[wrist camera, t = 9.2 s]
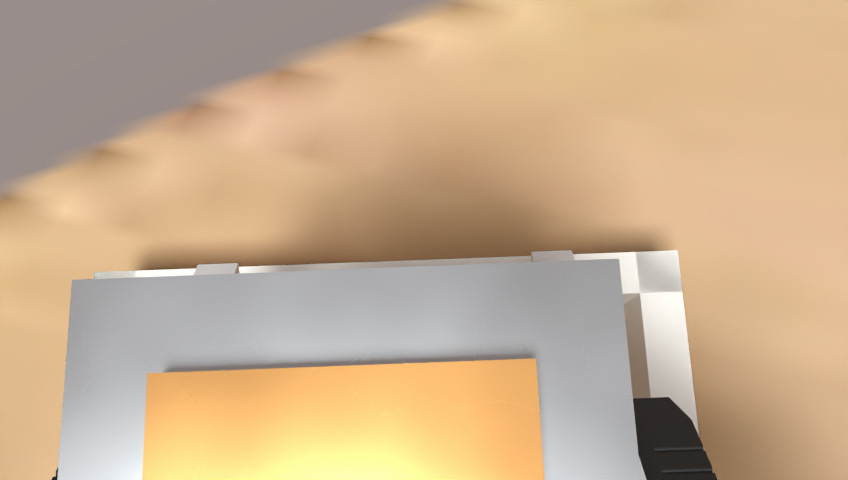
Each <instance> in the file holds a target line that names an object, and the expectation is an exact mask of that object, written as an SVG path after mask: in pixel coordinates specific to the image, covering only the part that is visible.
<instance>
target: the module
mask: <svg viewBox="0 0 848 480" xmlns="http://www.w3.org/2000/svg"><path fill="white" fill-rule="evenodd" d="M57 480H641V475H640V465H639V455H638V445H637V434H636V424H635V414H634V404H633V394H632V384H631V374H630V364H629V354H628V344H627V333H626V323H625V313H624V303H623V293H622V283H621V273H620V263H619V259H596V260H570V261H545V262H519V263H493V264H468V265H442V266H416V267H391V268H365V269H340V270H314V271H288V272H263V273H237V274H211V275H186V276H160V277H135V278H109V279H83V280H72V288H71V302H70V315H69V329H68V342H67V356H66V369H65V383H64V396H63V410H62V424H61V437H60V451H59V464H58V478H57Z"/></svg>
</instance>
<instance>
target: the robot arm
mask: <svg viewBox="0 0 848 480" xmlns="http://www.w3.org/2000/svg"><path fill="white" fill-rule="evenodd" d="M570 260H575V259H574V256H573V253H572V250H561V251H535V252H531V262H545V261H570ZM237 273H240V272H239V266H238V263H226V264H201V265H197V268H196V270H195V272H194V275H211V274H237ZM633 404H634V414H635V424H636V434H637V445H638V455H639V465H640V475H641V480H717V478H716V475H715V473H713V472H712V466H711V464H710V461H709V459H708V457H707V454H706V452H705V451H703V445H702V443H701V440H700V438H699V436H698V433H697V431H696V428H695V426H694V424H693V421H692V419H691V418H690V417H689V416H688V415H687V414H686V413H685V412H684V411H683V410H682V409H680V408H679V407H678V406H677V405H676V404H675V403H674V402H673V401H672V400H671V399H670V398H669V397H658V398H633ZM57 478H58V468H57V470H56V477H53V478H52V480H57Z"/></svg>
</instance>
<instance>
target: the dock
mask: <svg viewBox="0 0 848 480" xmlns="http://www.w3.org/2000/svg"><path fill="white" fill-rule="evenodd" d="M573 256H574V259H575V260H596V259H619V263H620V273H621V283H622V293H623V303H624V313H625V323H626V333H627V344H628V354H629V364H630V374H631V384H632V394H633V398H658V397H669V398H670V399H671V400H672V401H673V402H674V403H675V404H676V405H677V406H678V407H679V408H680V409H682V410H683V411H684V412H685V413H686V414H687V415H688V416H689V417H690V418H691V419H692V421H693V424H694V426H695V428H696V431H697V433H698V436H699V431H698V422H697V413H696V405H695V396H694V388H693V379H692V371H691V362H690V353H689V345H688V336H687V328H686V319H685V311H684V302H683V294H682V285H681V276H680V268H679V259H678V251H677V250H674V251H647V252H620V253H594V254H573ZM519 262H531V256H514V257H487V258H460V259H434V260H407V261H380V262H354V263H327V264H300V265H274V266H247V267H239V272H240V273H263V272H288V271H314V270H340V269H365V268H391V267H416V266H442V265H468V264H493V263H519ZM195 270H196V268H194V269H167V270H140V271H114V272H94V279H109V278H135V277H160V276H186V275H194V272H195Z"/></svg>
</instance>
